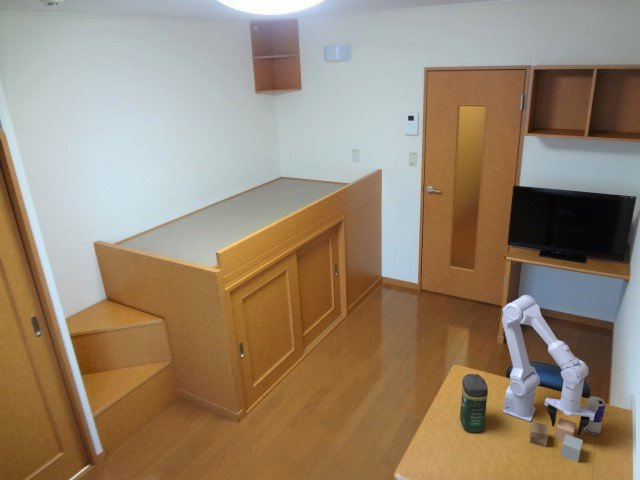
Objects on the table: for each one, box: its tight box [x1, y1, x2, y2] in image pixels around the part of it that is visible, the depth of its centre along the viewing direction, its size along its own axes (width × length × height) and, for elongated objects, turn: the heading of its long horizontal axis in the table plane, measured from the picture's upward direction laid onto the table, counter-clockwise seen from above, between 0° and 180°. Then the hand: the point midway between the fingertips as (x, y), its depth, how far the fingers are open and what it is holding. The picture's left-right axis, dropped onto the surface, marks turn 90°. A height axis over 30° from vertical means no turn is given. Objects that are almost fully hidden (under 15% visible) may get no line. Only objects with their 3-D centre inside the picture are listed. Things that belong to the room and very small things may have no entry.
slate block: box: [560, 434, 583, 463], centre depth 155 cm, size 5×5×5 cm
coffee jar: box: [459, 373, 489, 433], centre depth 167 cm, size 10×8×19 cm
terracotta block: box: [554, 417, 577, 442], centre depth 162 cm, size 5×5×5 cm
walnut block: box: [529, 420, 549, 448], centre depth 161 cm, size 5×5×5 cm
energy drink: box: [583, 395, 606, 436], centre depth 163 cm, size 5×5×12 cm
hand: (566, 428), depth 161 cm, fingers open, 7 cm apart
